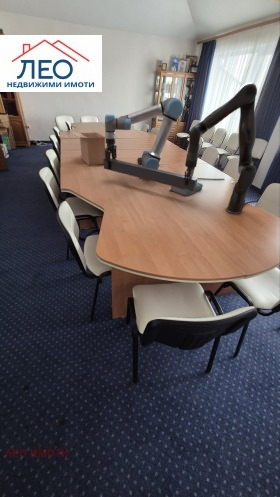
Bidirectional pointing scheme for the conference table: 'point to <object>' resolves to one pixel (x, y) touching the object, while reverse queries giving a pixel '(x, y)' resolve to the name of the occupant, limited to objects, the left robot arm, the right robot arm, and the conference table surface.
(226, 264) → the conference table surface
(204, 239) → the conference table surface
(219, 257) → the conference table surface
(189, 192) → the book
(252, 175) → the right robot arm
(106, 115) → the left robot arm
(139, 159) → the laser sight
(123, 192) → the conference table surface
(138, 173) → the post
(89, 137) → the box
